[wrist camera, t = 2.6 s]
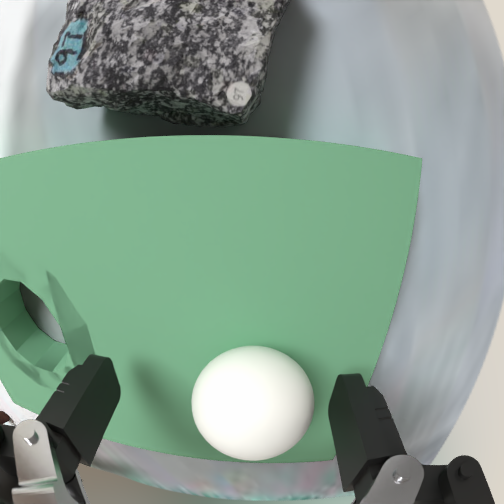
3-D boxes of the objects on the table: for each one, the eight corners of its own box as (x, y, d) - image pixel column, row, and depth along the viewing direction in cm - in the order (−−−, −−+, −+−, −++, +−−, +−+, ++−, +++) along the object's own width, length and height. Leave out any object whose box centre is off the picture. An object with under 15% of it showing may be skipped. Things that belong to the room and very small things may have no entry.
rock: (318, -42, 7) (337, -95, 3) (244, 148, 11) (237, 146, 7) (163, -64, 7) (138, -109, 3) (79, 109, 10) (15, 102, 6)
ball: (198, 318, 10) (171, 404, 6) (314, 323, 10) (338, 411, 6) (204, 395, 11) (189, 473, 7) (298, 399, 11) (308, 478, 7)
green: (-28, 168, 10) (-57, 175, 8) (390, 155, 10) (422, 158, 8) (28, 382, 16) (13, 402, 13) (326, 429, 16) (332, 459, 13)
